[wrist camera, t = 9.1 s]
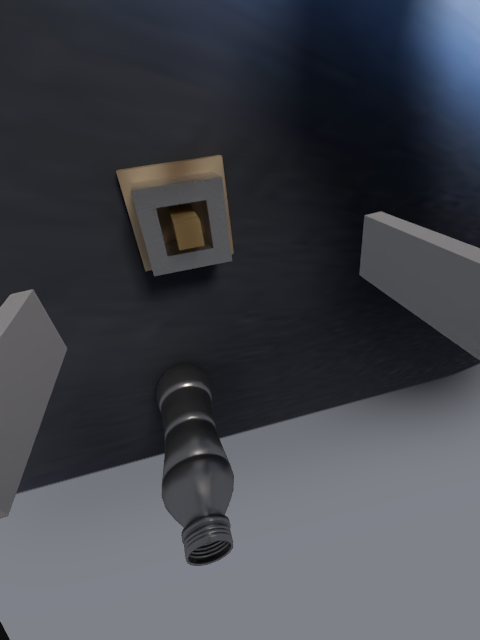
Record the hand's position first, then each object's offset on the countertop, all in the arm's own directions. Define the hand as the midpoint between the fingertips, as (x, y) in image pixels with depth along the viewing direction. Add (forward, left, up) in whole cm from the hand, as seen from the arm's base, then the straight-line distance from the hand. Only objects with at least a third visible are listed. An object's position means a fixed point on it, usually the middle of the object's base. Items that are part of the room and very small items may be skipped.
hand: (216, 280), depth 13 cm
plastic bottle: (+4, +22, -20) cm, 30 cm away
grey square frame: (0, +2, -19) cm, 19 cm away
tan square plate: (0, +2, -20) cm, 20 cm away
